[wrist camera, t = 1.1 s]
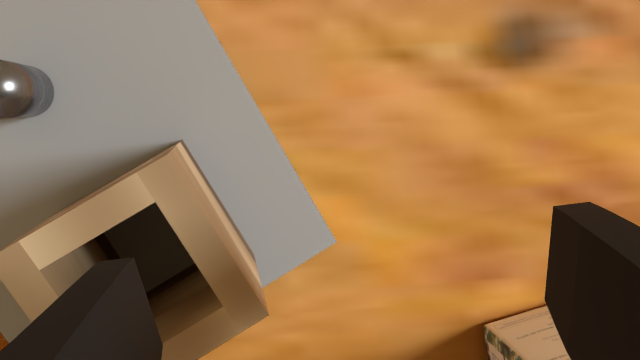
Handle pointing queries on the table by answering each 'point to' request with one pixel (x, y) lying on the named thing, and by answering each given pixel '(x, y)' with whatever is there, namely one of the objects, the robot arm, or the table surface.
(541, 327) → the syrup box
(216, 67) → the board
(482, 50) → the table surface
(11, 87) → the steel pin
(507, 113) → the table surface
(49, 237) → the sleeve
